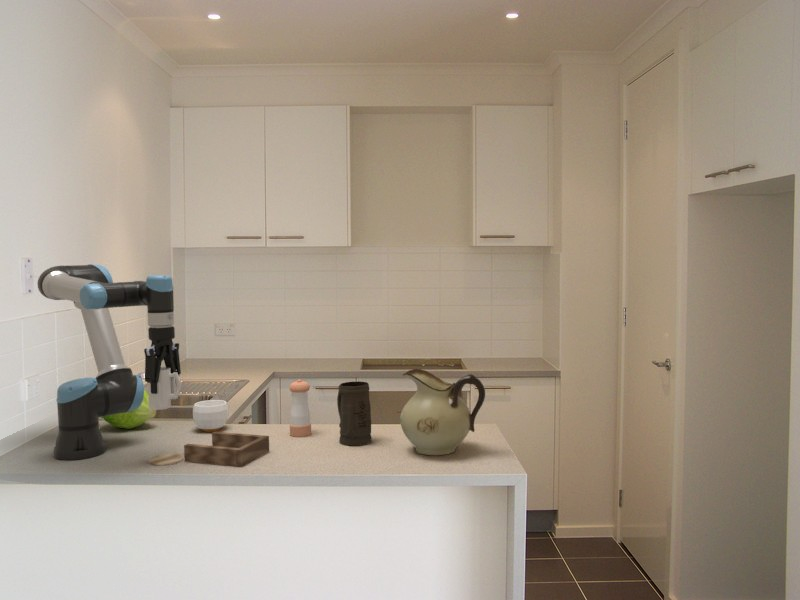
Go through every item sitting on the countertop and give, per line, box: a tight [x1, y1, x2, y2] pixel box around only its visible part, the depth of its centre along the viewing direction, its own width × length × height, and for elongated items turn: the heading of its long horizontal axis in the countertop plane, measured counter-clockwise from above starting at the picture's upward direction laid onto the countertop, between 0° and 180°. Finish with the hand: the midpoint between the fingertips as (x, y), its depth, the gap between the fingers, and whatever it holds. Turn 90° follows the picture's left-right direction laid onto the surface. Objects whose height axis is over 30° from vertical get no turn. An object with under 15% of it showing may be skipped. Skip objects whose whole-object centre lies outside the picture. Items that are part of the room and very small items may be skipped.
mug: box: [147, 366, 182, 411], centre depth 212 cm, size 10×7×12 cm, turn 88°
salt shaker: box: [288, 379, 312, 438], centre depth 241 cm, size 7×7×19 cm
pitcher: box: [399, 368, 486, 456], centre depth 219 cm, size 22×24×25 cm
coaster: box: [148, 453, 185, 466], centre depth 213 cm, size 10×10×1 cm
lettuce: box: [102, 388, 157, 430], centre depth 255 cm, size 17×20×15 cm
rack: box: [183, 431, 270, 468], centre depth 217 cm, size 20×17×5 cm
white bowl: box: [192, 399, 229, 433], centre depth 250 cm, size 12×12×10 cm
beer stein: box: [336, 380, 373, 447], centre depth 232 cm, size 15×11×20 cm
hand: (164, 401), depth 212 cm, fingers closed on mug, 7 cm apart
